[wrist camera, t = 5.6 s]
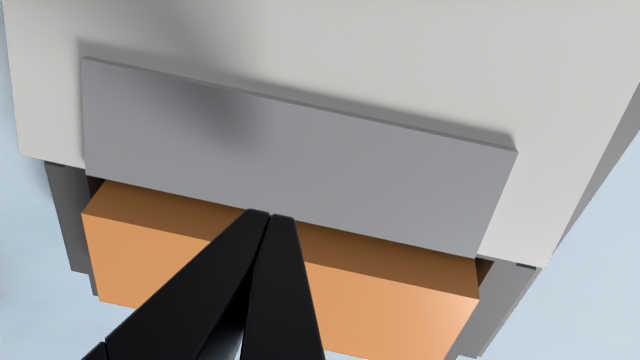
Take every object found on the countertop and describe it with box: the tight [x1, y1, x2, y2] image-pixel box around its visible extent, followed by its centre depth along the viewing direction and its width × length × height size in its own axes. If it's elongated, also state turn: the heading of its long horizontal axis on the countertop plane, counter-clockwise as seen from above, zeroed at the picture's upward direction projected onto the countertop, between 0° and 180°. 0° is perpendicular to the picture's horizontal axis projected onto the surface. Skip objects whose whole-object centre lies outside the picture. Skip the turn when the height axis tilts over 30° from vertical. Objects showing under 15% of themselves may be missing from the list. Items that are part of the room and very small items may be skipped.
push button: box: [81, 179, 480, 360], centre depth 16 cm, size 11×4×2 cm, turn 81°
